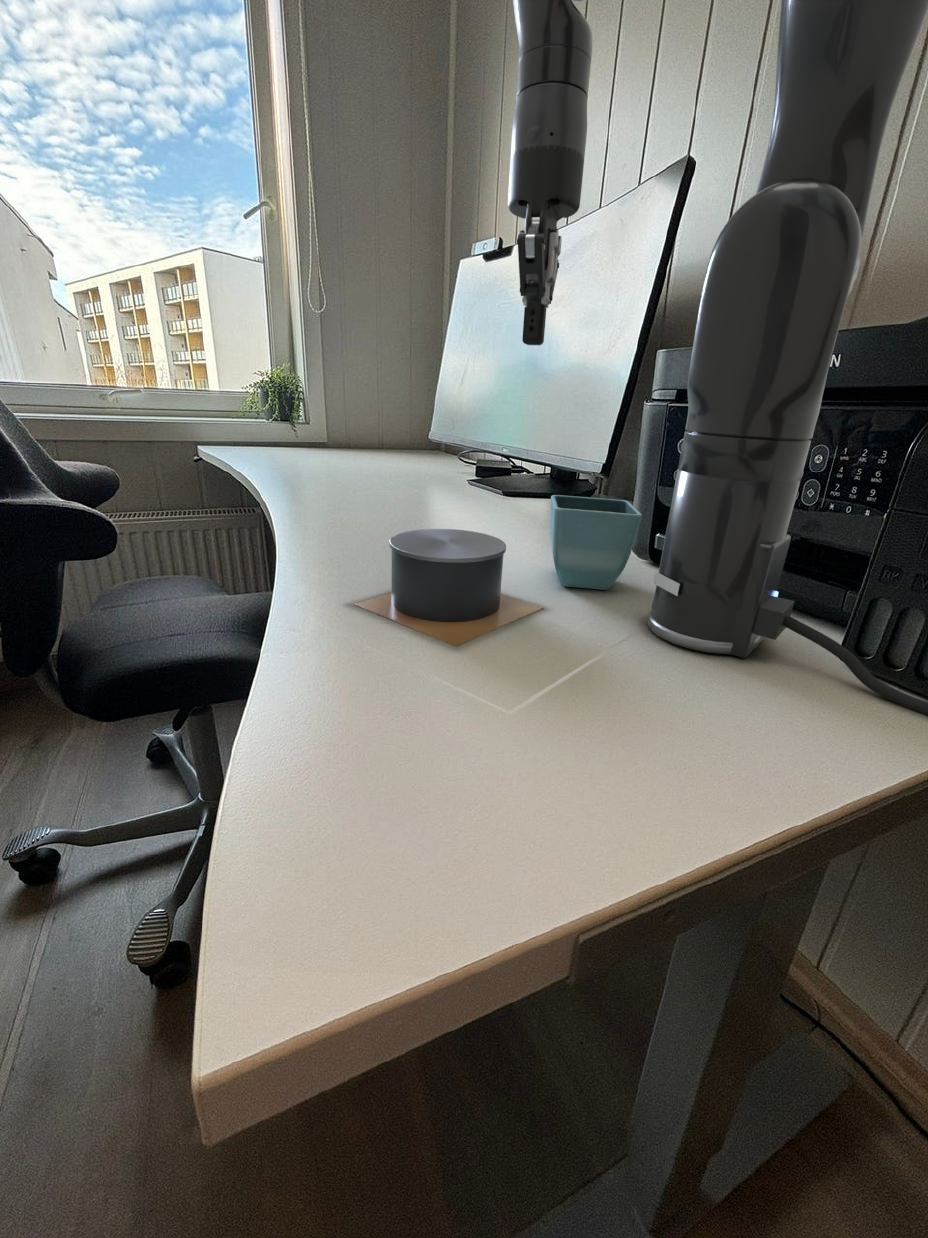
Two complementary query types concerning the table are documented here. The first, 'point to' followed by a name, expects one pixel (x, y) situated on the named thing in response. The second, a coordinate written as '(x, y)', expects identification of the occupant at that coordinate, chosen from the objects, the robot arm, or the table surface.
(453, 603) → the round metal tin
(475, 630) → the desk mat
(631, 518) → the flower pot
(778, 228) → the robot arm
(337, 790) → the table surface
